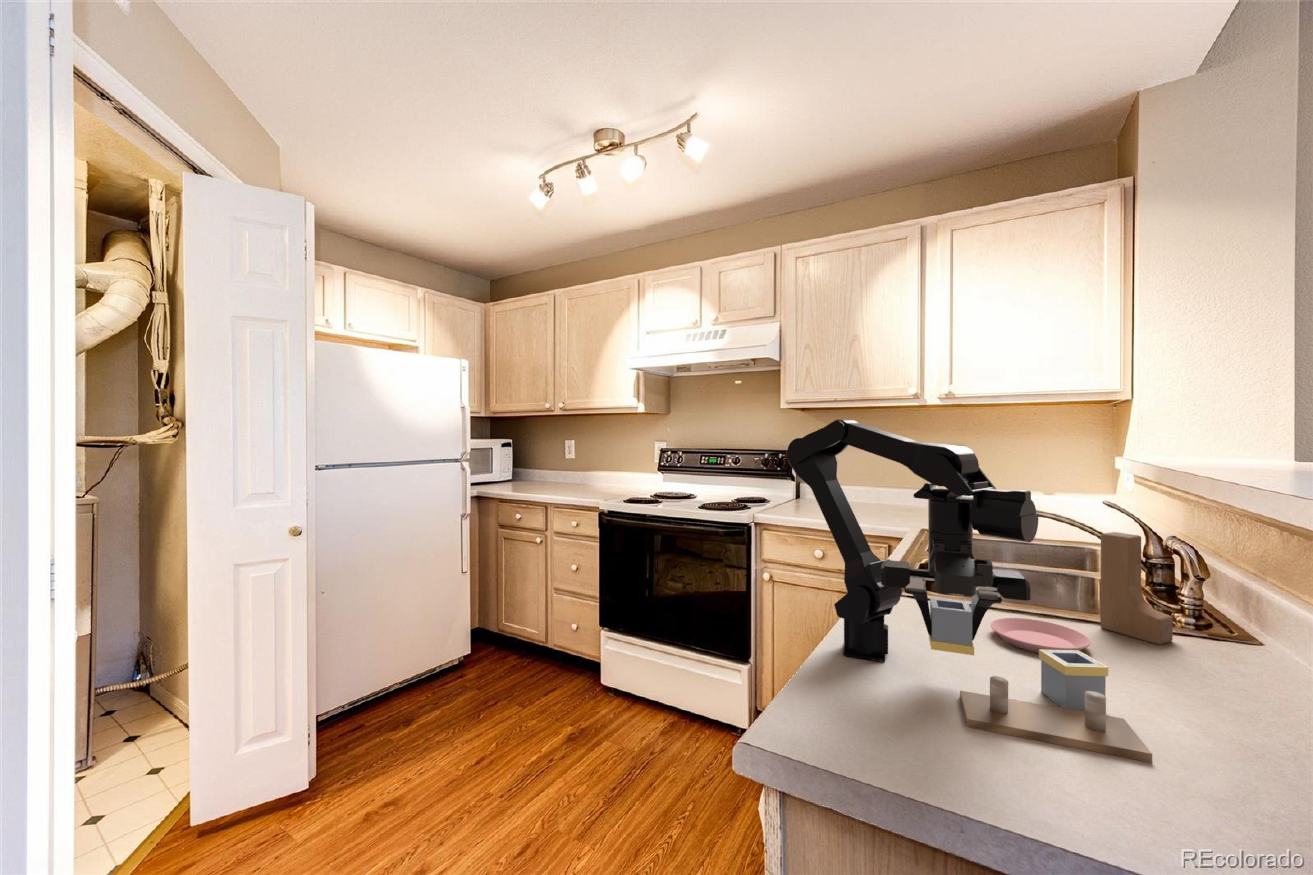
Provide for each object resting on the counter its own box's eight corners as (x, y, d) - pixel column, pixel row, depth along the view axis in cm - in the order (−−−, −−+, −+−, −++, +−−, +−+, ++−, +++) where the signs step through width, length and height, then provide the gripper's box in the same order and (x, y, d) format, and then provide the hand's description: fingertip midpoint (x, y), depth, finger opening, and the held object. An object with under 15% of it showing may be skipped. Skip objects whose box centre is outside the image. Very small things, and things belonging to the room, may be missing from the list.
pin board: (967, 726, 66) (967, 687, 66) (960, 697, 74) (960, 662, 74) (1152, 762, 59) (1152, 718, 59) (1123, 726, 66) (1123, 686, 66)
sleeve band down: (931, 649, 76) (930, 608, 76) (928, 636, 81) (928, 597, 81) (974, 655, 74) (974, 613, 74) (969, 641, 79) (968, 601, 79)
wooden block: (1173, 641, 93) (1174, 540, 93) (1160, 645, 91) (1160, 542, 91) (1112, 624, 101) (1113, 531, 101) (1099, 628, 100) (1099, 533, 99)
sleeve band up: (1065, 711, 70) (1065, 666, 70) (1038, 691, 76) (1038, 649, 75) (1108, 712, 70) (1108, 667, 70) (1078, 692, 75) (1078, 650, 75)
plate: (1089, 668, 83) (1089, 655, 83) (984, 645, 92) (984, 633, 92) (1091, 641, 94) (1091, 629, 94) (997, 622, 103) (997, 612, 103)
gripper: (880, 536, 74) (880, 647, 74) (1041, 547, 66) (1041, 670, 67) (881, 523, 84) (881, 621, 84) (1021, 532, 77) (1021, 639, 77)
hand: (950, 636), depth 78 cm, fingers closed on sleeve band down, 5 cm apart
